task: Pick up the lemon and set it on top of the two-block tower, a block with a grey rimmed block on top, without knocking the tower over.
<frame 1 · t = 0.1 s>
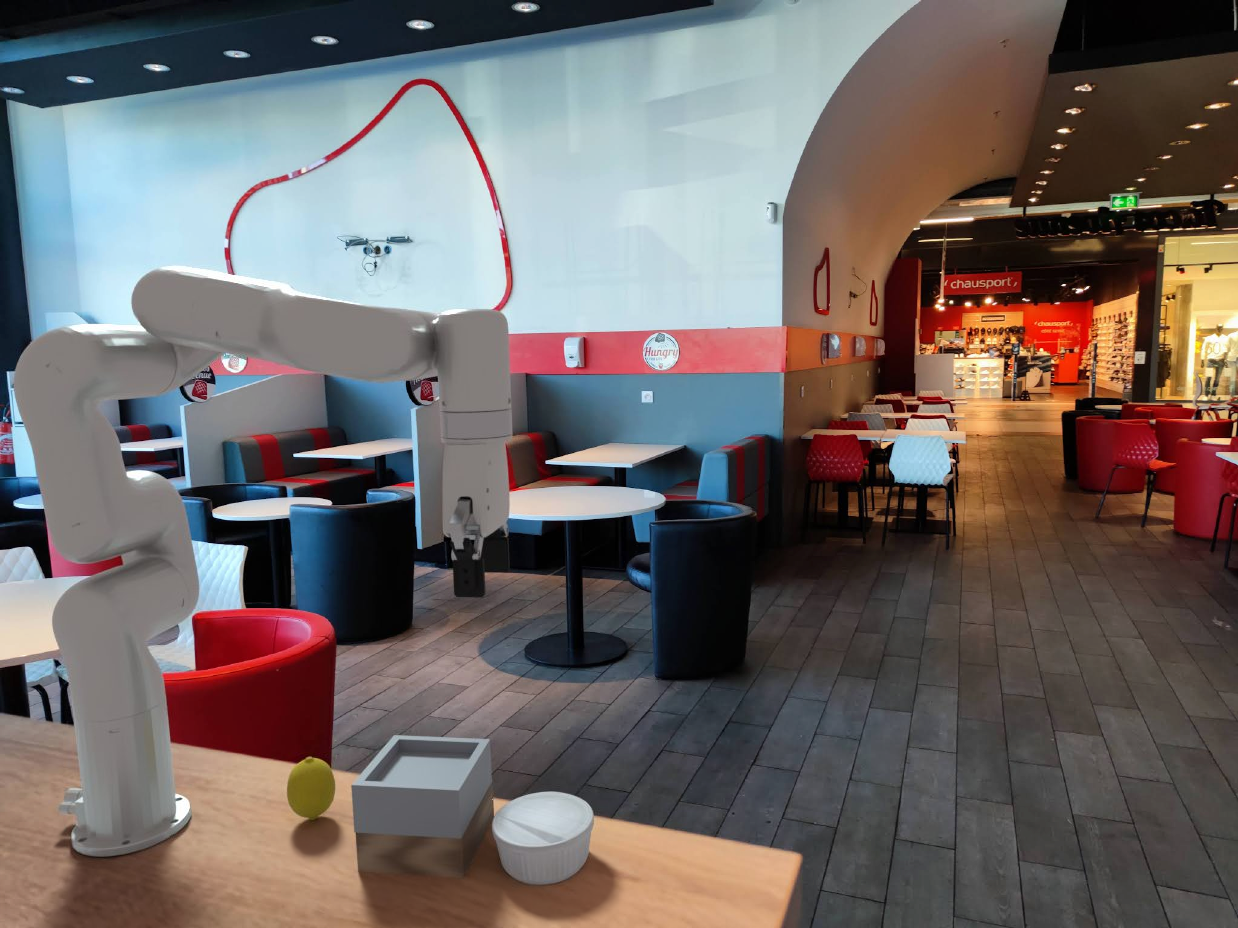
hand: (483, 583, 94), 31 cm above the table, tool pointing down, fingers open, 9 cm apart
lemon: (313, 820, 105), on the table
tower top block: (426, 805, 99), point 5 cm above the table, touching tower bottom block
tower bottom block: (429, 845, 99), on the table, touching tower top block
ramekin: (544, 862, 96), on the table
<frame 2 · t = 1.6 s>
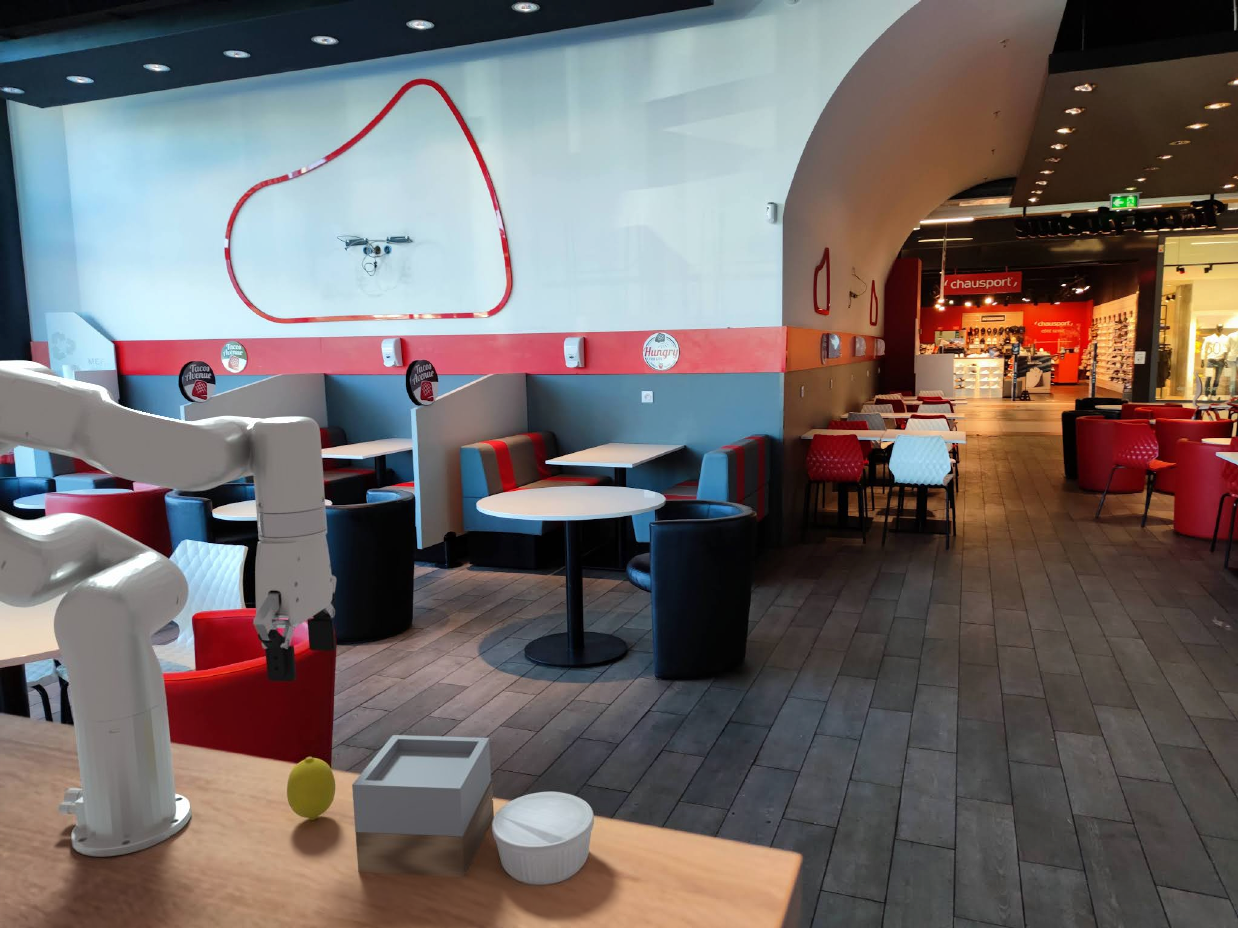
hand: (303, 664, 102), 20 cm above the table, tool pointing down, fingers open, 9 cm apart
nothing on the table moved.
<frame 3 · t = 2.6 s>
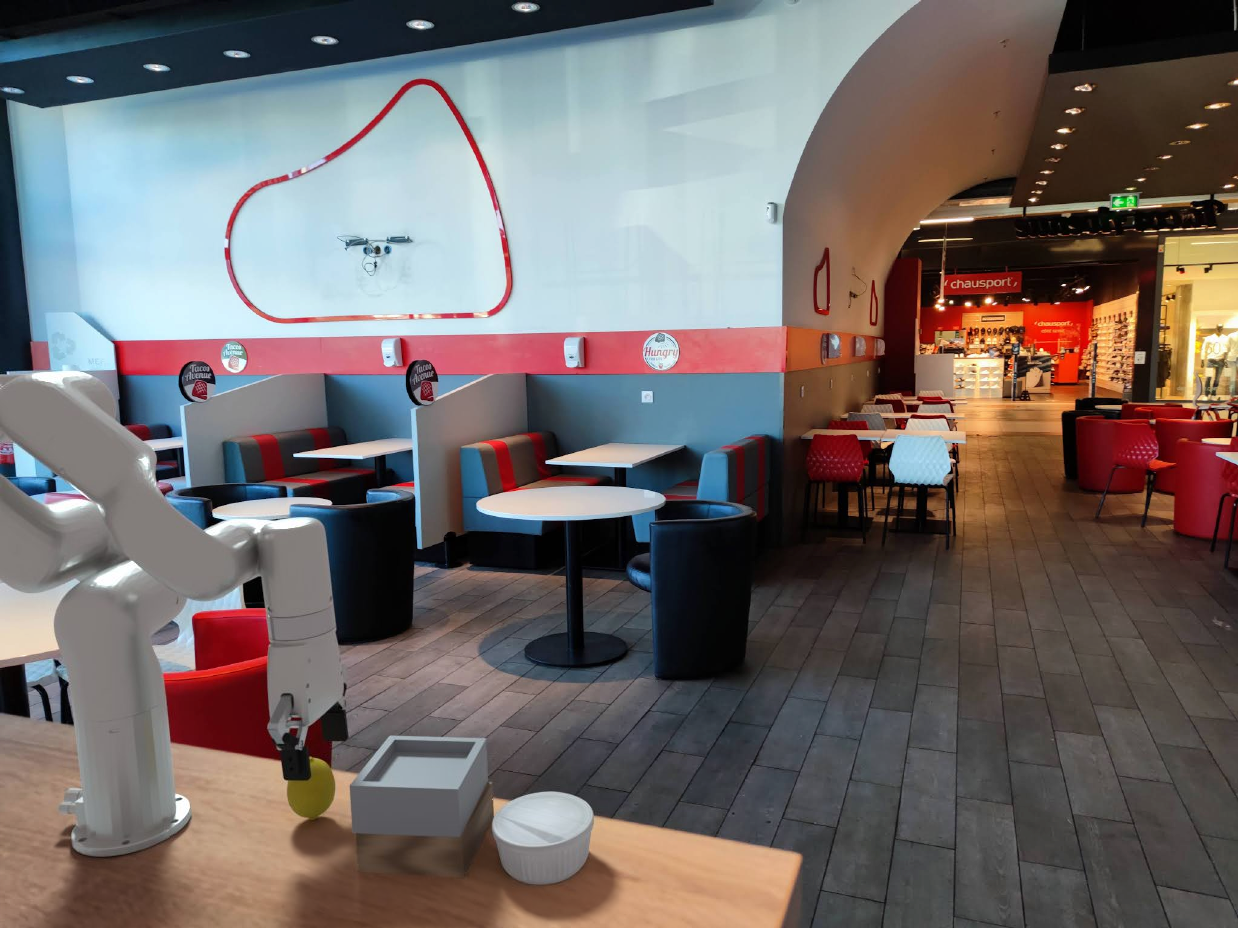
hand: (317, 758, 104), 8 cm above the table, tool pointing down, fingers open, 9 cm apart
nothing on the table moved.
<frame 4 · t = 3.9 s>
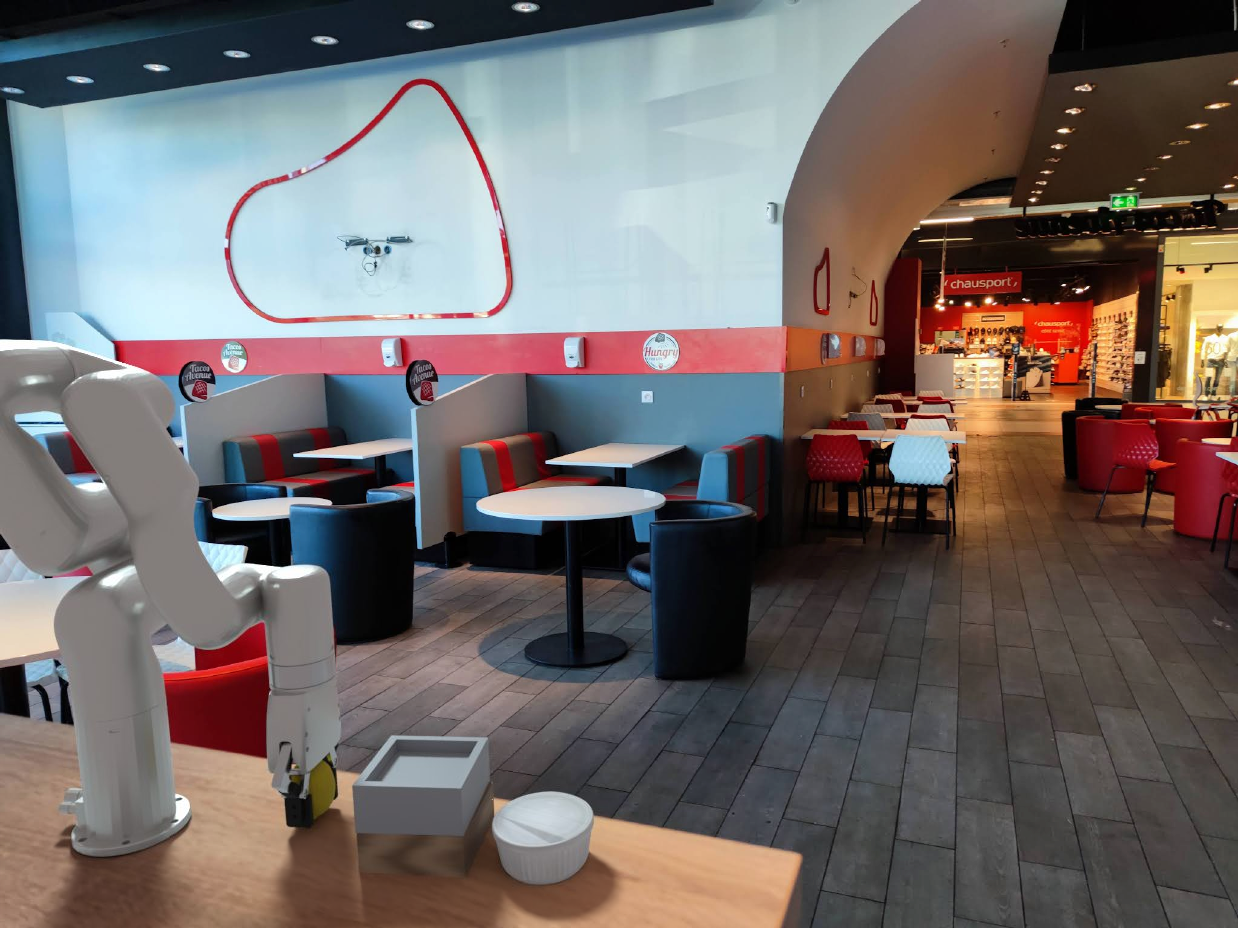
hand: (313, 810, 105), 1 cm above the table, tool pointing down, fingers closed on lemon, 5 cm apart
lemon: (313, 820, 105), on the table, touching gripper
everything else where it was.
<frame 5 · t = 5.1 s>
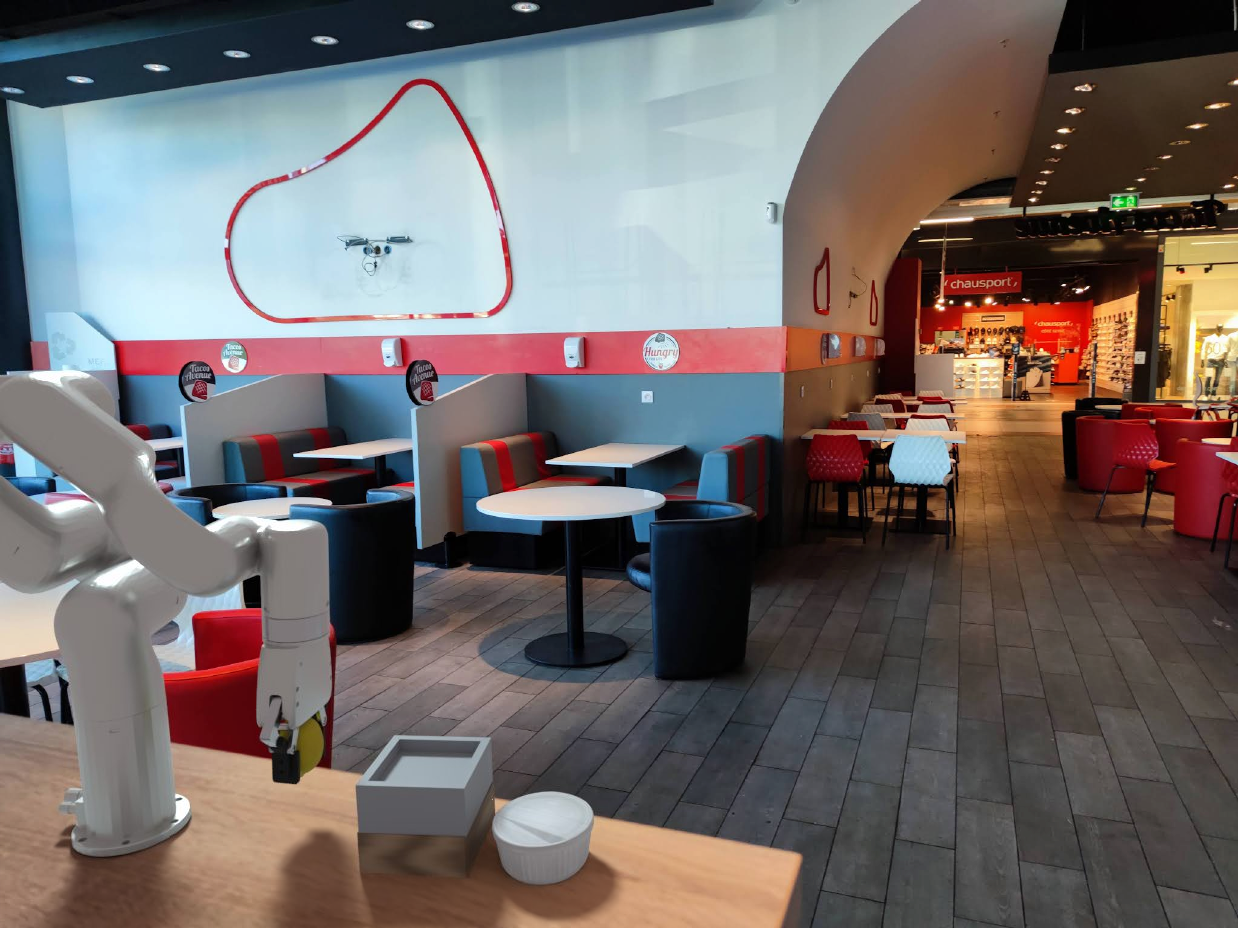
hand: (299, 767, 104), 7 cm above the table, tool pointing down, fingers closed on lemon, 5 cm apart
lemon: (300, 778, 104), point 5 cm above the table, touching gripper
tower top block: (429, 804, 99), point 5 cm above the table
tower bottom block: (431, 846, 99), on the table
everything else where it was.
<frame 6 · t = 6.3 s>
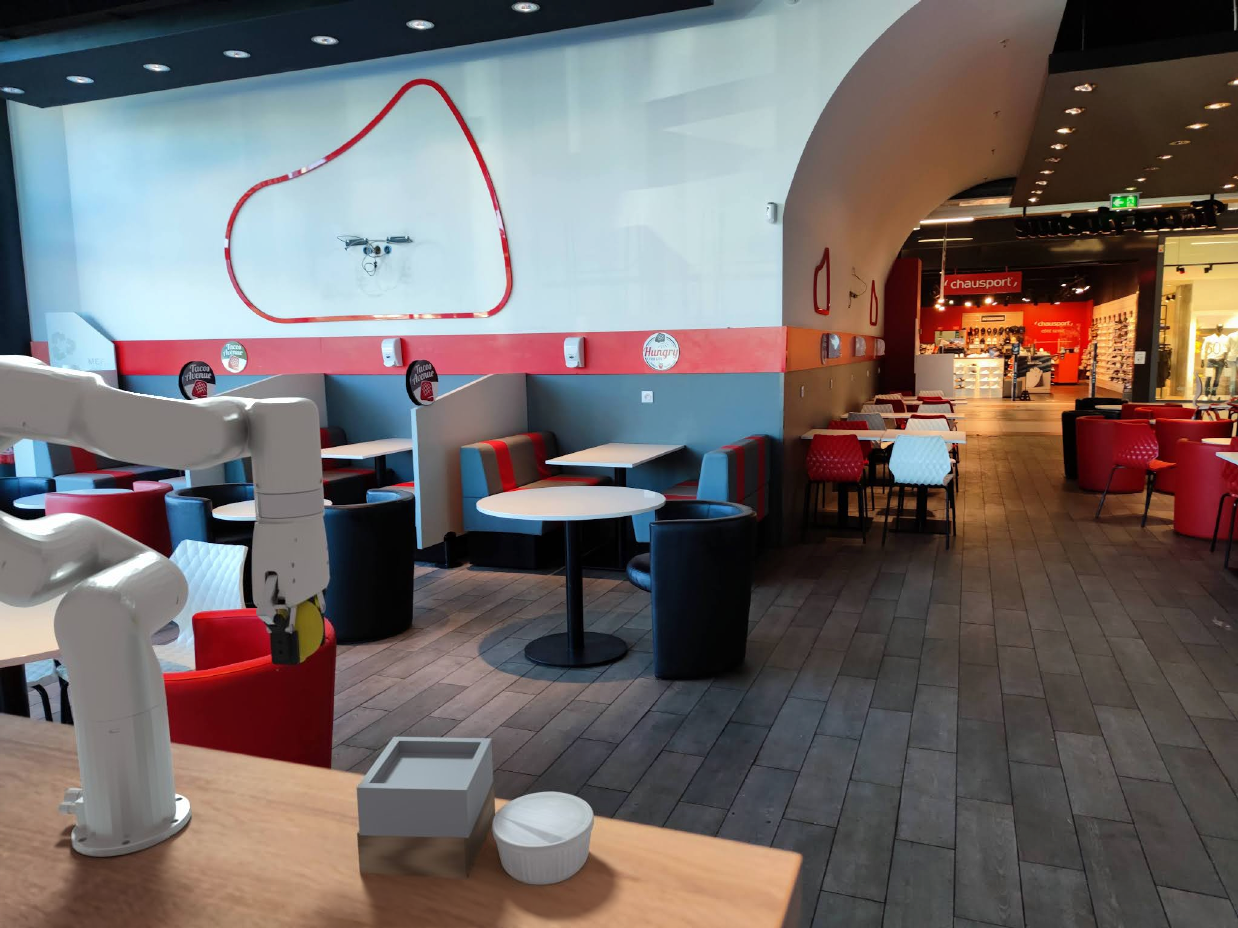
hand: (299, 652, 102), 21 cm above the table, tool pointing down, fingers closed on lemon, 5 cm apart
lemon: (300, 663, 102), point 20 cm above the table, touching gripper
tower top block: (430, 806, 99), point 5 cm above the table, touching tower bottom block
tower bottom block: (431, 846, 99), on the table, touching tower top block
everything else where it was.
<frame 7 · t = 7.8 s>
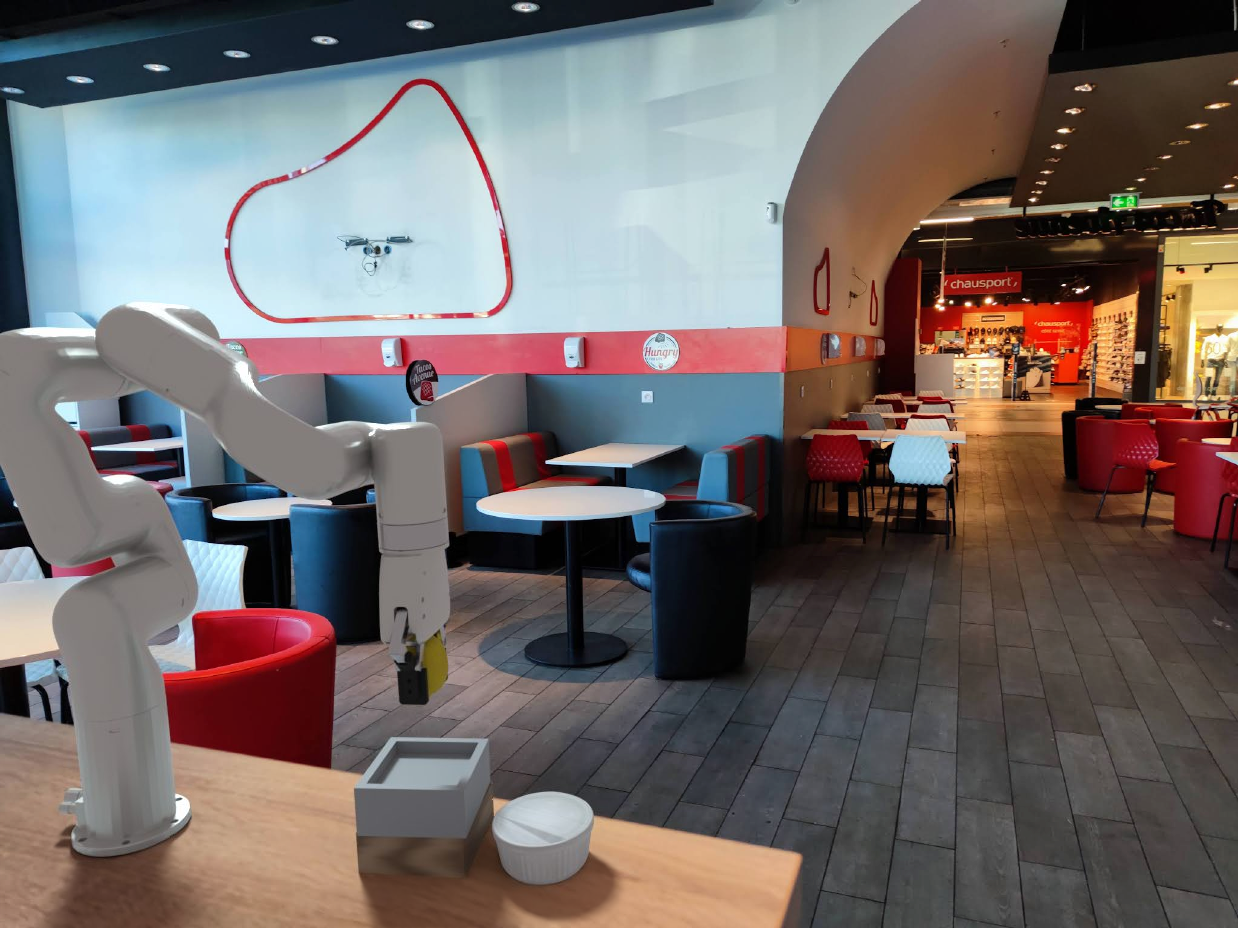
hand: (424, 690, 97), 18 cm above the table, tool pointing down, fingers closed on lemon, 5 cm apart
lemon: (425, 701, 97), point 17 cm above the table, touching gripper
everything else where it was.
when the fingers open (11 cm above the table, at t = 9.5 s): lemon stays where it is, resting on tower top block.
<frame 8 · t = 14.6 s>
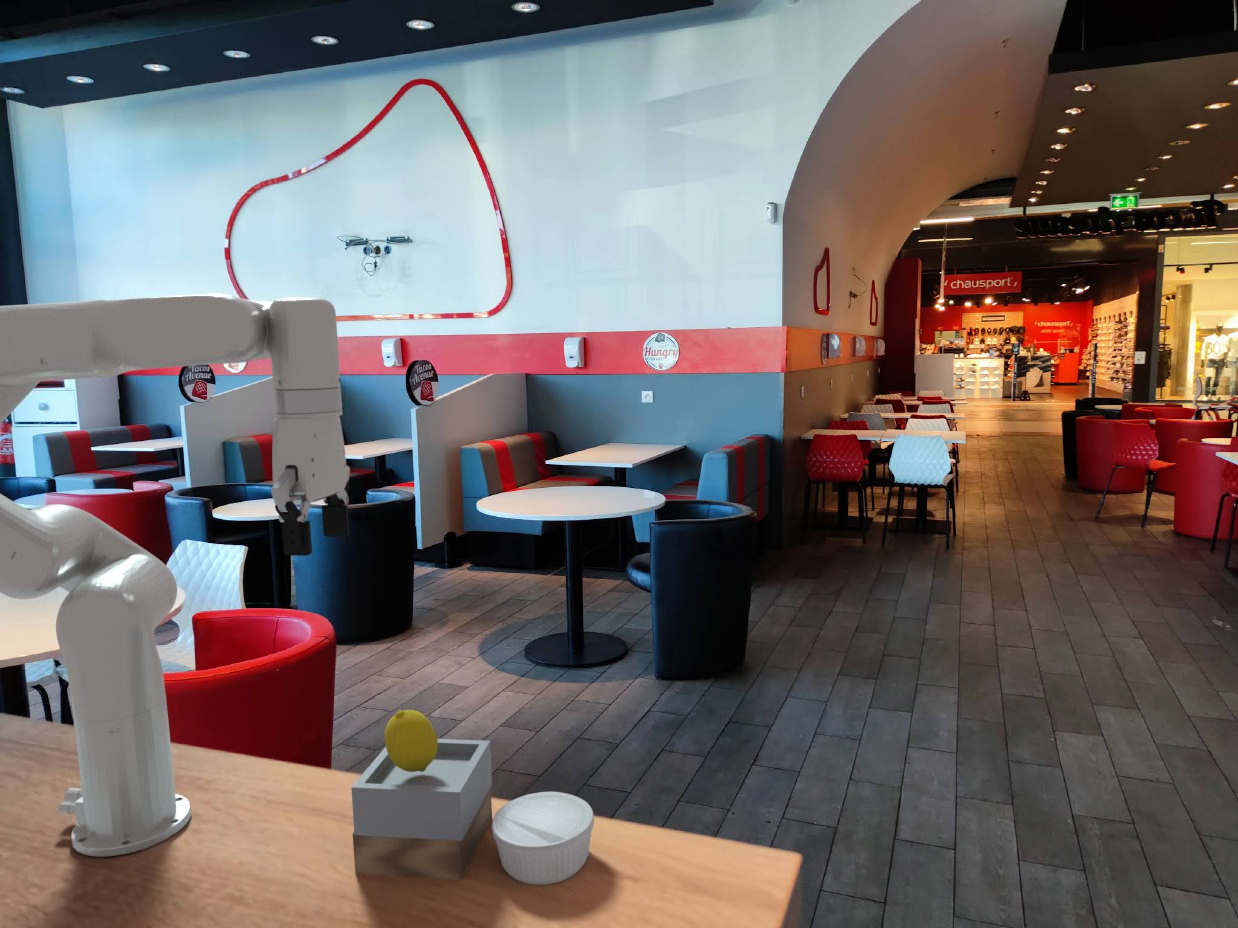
hand: (318, 545, 104), 33 cm above the table, tool pointing down, fingers open, 9 cm apart
lemon: (424, 771, 98), point 9 cm above the table, touching tower top block
tower top block: (426, 808, 98), point 5 cm above the table, touching lemon, tower bottom block
everything else where it was.
at the end: lemon inside the target area on the tower top block (0.4 cm from its centre), point 4.2 cm above the tower top block's base; tower top block 0.4 cm off-centre on the tower bottom block, point 5.0 cm above the tower bottom block's base; tower bottom block moved 0.6 cm from its start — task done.
